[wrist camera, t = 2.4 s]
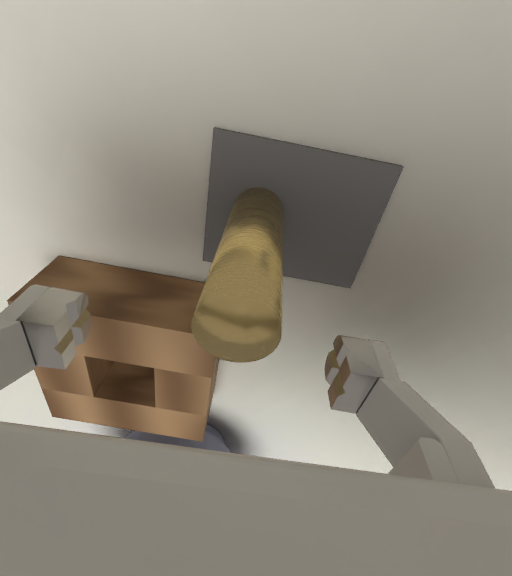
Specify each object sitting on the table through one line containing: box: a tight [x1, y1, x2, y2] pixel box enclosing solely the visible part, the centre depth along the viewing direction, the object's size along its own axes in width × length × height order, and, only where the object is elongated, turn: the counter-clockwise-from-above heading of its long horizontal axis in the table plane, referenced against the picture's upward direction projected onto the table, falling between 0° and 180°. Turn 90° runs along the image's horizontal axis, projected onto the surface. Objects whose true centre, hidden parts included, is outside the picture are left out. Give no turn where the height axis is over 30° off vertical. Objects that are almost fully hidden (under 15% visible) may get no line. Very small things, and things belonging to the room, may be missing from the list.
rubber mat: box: [203, 127, 403, 288], centre depth 19 cm, size 10×8×1 cm
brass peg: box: [191, 187, 284, 362], centre depth 14 cm, size 3×3×10 cm
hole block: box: [7, 256, 219, 442], centre depth 24 cm, size 12×12×5 cm
